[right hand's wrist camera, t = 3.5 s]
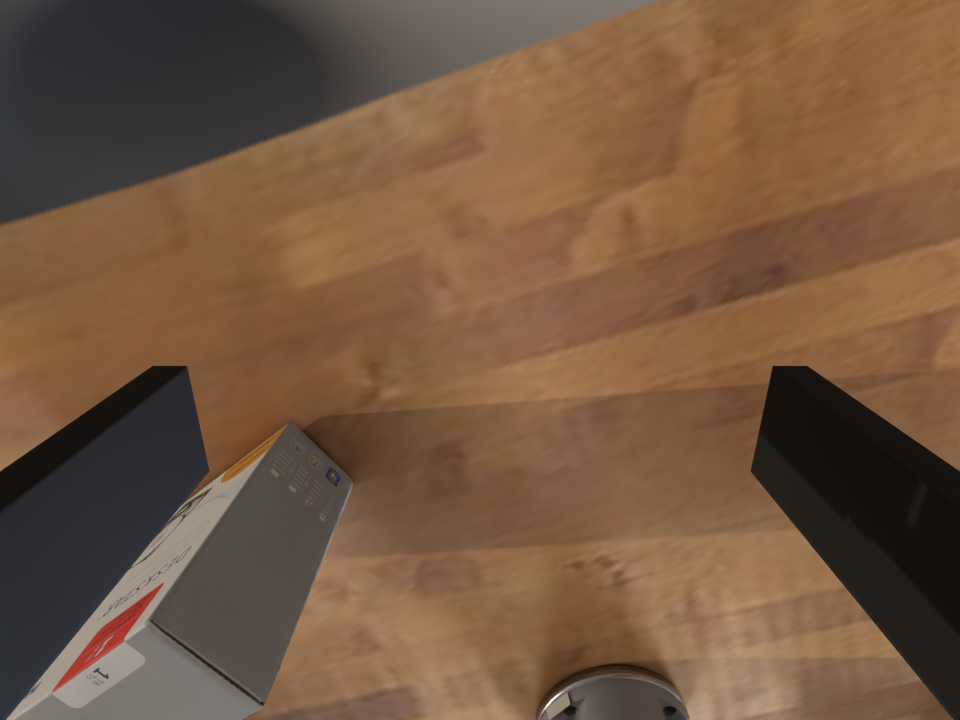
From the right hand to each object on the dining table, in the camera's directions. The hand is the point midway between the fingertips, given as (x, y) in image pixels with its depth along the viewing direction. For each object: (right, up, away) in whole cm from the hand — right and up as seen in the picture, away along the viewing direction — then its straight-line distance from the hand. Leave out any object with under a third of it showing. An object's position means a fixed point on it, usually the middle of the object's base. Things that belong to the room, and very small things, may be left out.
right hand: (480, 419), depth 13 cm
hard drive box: (-19, -10, +34) cm, 40 cm away
